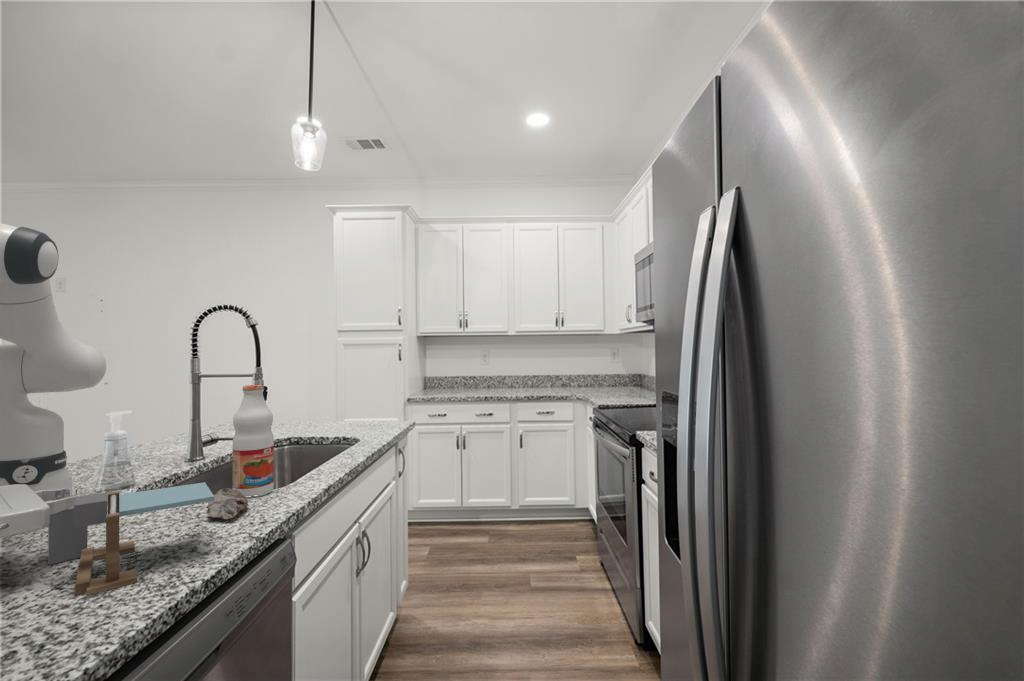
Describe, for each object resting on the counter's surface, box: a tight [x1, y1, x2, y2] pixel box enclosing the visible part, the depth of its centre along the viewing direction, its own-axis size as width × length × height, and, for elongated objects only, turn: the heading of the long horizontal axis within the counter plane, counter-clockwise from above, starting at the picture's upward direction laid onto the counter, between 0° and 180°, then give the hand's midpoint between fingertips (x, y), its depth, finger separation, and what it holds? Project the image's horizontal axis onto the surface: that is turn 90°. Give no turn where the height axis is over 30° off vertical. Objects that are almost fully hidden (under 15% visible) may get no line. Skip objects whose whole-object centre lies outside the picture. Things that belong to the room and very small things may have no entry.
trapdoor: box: [73, 481, 214, 528], centre depth 83 cm, size 13×19×4 cm
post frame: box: [74, 490, 138, 596], centre depth 79 cm, size 19×7×11 cm, turn 40°
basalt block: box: [47, 507, 89, 566], centre depth 84 cm, size 5×5×9 cm
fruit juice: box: [231, 384, 275, 499], centre depth 121 cm, size 9×9×28 cm
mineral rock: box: [206, 487, 249, 520], centre depth 106 cm, size 15×8×4 cm, turn 16°
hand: (73, 496), depth 85 cm, fingers open, 5 cm apart
